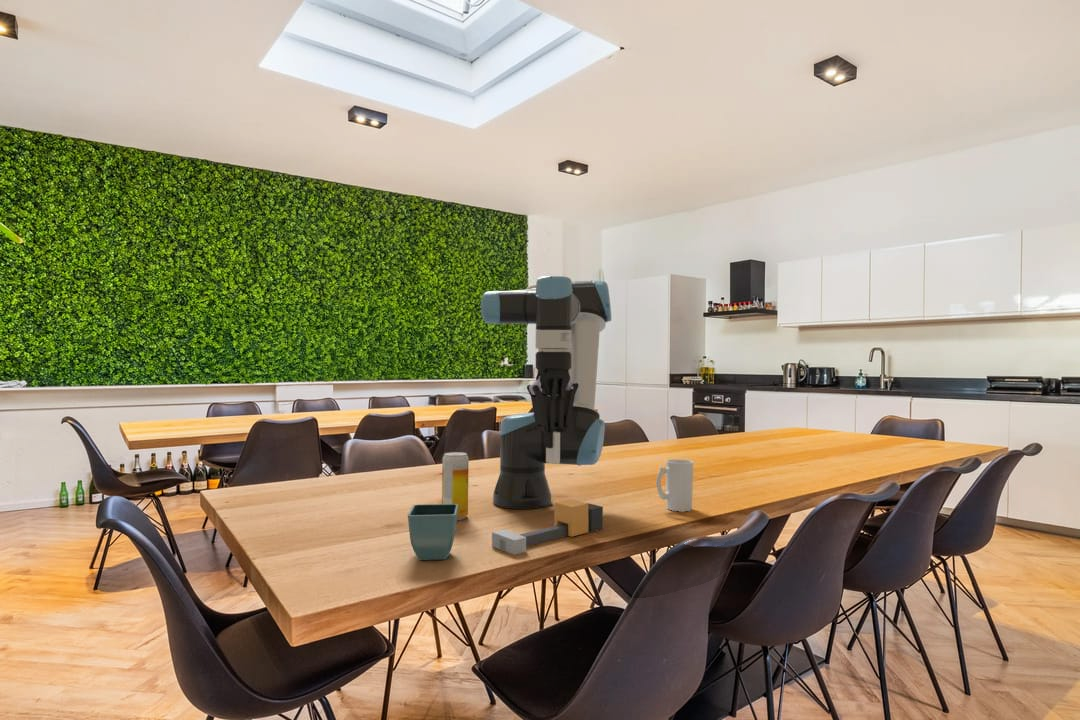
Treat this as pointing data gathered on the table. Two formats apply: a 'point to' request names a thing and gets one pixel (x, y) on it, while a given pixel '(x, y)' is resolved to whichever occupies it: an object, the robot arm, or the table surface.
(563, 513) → the sleeve
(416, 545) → the flower pot
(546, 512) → the table surface
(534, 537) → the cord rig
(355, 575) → the table surface
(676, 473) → the mug
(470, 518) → the table surface
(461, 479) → the beer can
